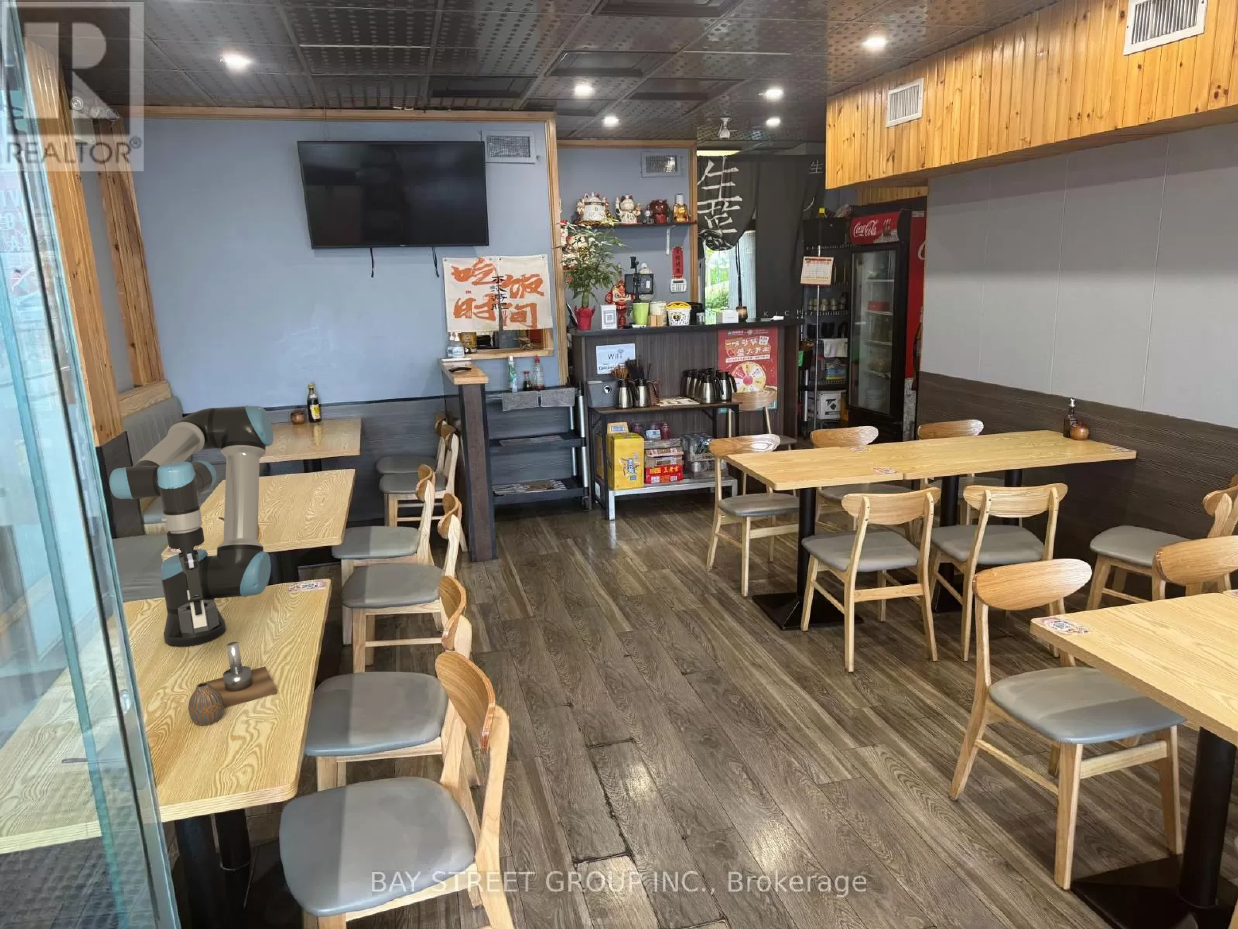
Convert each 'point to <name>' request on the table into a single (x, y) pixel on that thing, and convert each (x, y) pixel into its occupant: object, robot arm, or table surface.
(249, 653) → the table surface
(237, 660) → the shaft
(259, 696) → the base board
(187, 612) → the ring
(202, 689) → the vase
